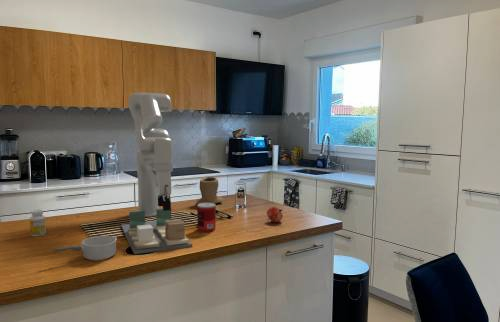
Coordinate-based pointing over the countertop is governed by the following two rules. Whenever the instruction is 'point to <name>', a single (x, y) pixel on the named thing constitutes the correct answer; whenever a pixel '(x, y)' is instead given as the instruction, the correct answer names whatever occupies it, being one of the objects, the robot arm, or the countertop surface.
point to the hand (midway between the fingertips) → (164, 208)
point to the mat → (162, 244)
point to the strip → (160, 228)
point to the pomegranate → (274, 214)
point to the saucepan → (95, 247)
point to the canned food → (206, 217)
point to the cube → (175, 229)
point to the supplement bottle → (37, 223)
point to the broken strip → (136, 220)
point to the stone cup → (209, 191)
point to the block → (144, 233)
